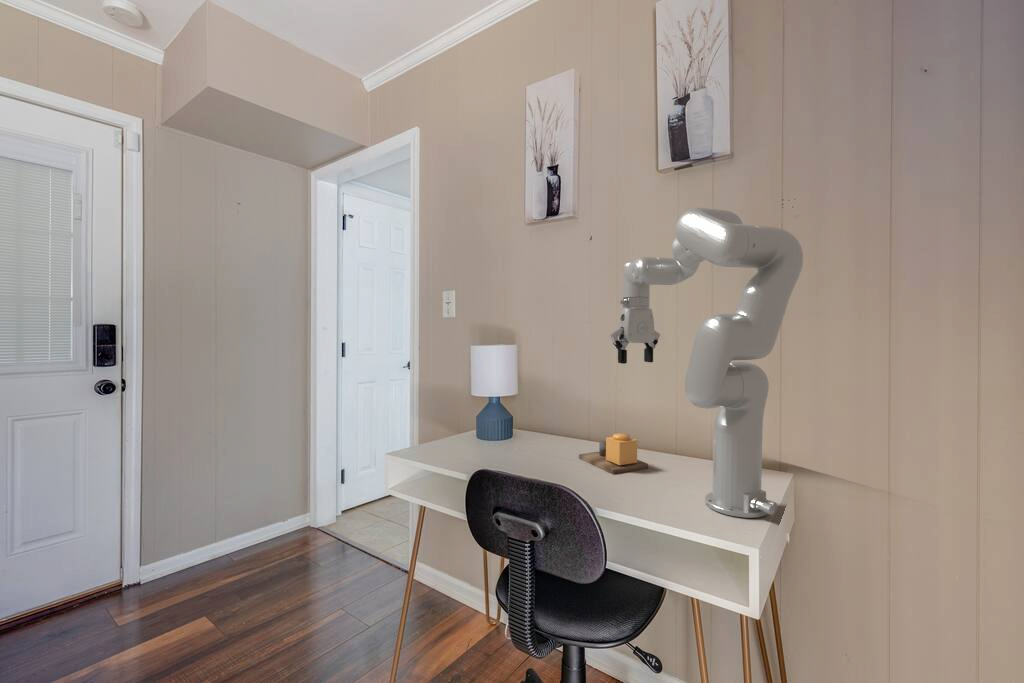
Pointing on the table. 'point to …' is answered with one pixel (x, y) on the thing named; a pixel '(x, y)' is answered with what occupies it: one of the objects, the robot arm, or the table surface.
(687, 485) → the table surface
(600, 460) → the post board
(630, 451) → the knobbed tan cube
